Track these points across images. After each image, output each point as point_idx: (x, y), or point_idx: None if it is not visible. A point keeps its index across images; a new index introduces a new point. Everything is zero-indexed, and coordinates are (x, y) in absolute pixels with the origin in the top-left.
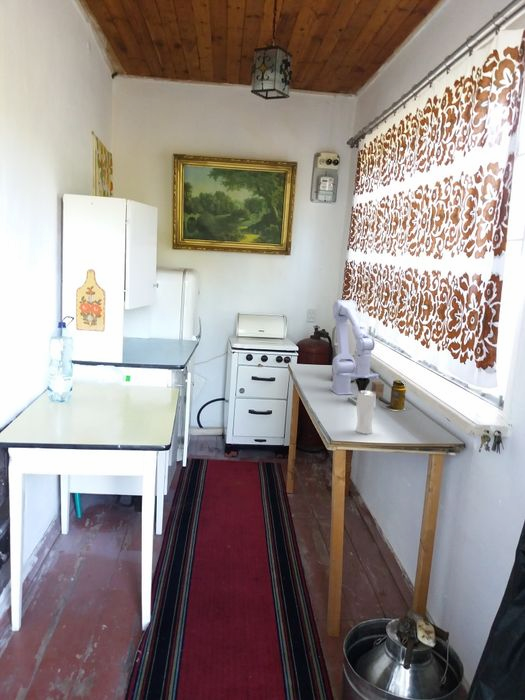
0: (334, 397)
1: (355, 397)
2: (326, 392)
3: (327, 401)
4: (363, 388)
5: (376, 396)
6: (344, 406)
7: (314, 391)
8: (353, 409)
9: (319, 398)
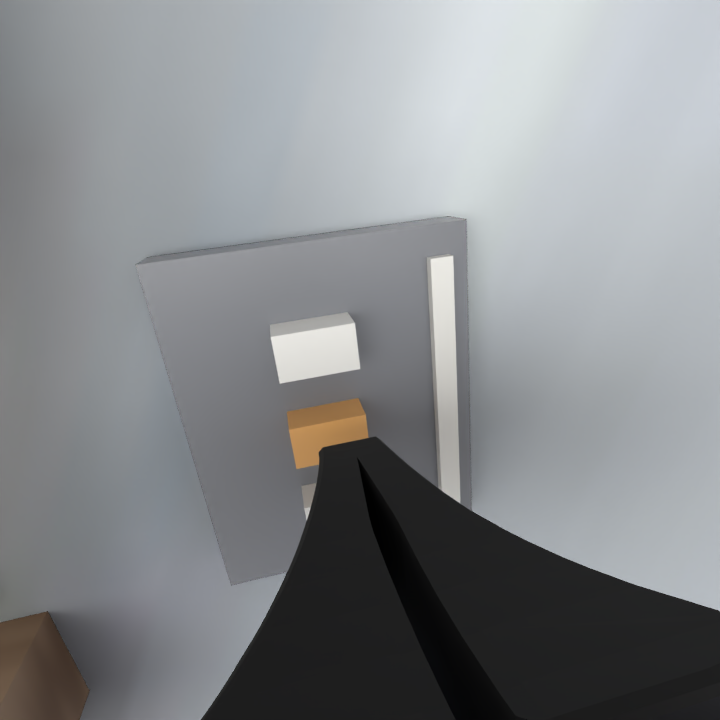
0: None
1: None
2: None
3: (702, 428)
4: (370, 528)
5: (4, 649)
6: (623, 223)
7: None
8: (573, 46)
9: (717, 520)
